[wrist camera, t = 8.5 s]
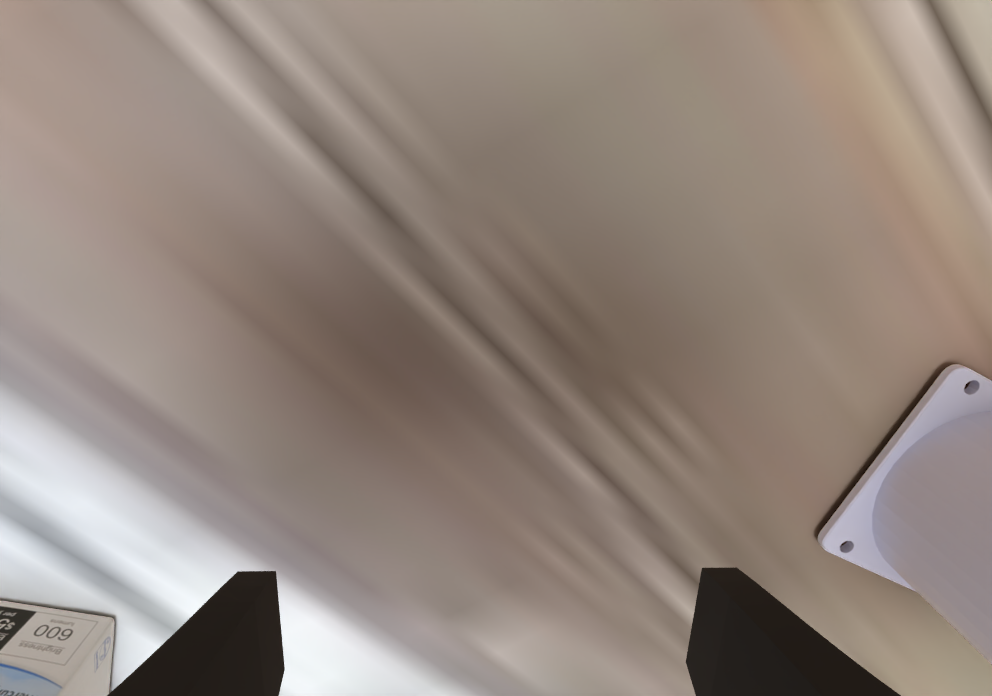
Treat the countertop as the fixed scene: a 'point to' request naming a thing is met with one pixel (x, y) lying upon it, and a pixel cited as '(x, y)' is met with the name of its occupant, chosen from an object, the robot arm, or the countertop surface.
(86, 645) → the light bulb box
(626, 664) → the countertop surface
